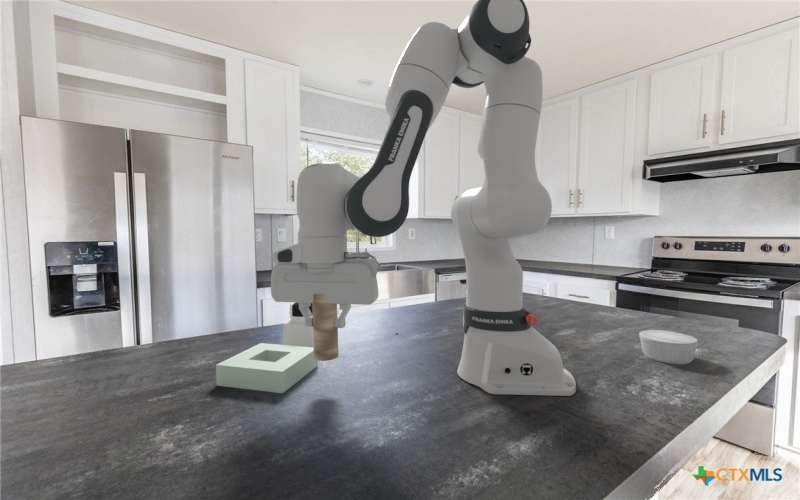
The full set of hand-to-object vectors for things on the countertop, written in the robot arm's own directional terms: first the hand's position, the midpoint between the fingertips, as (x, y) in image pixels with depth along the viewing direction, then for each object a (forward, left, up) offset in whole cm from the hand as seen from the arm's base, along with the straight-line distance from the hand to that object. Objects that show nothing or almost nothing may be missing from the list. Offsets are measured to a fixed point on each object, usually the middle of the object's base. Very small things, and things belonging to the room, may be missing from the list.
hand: (325, 326), depth 68 cm
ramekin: (-70, -35, -12) cm, 80 cm away
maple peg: (0, 0, -6) cm, 6 cm away
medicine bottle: (+15, -20, -12) cm, 28 cm away
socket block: (+13, -3, -12) cm, 18 cm away
